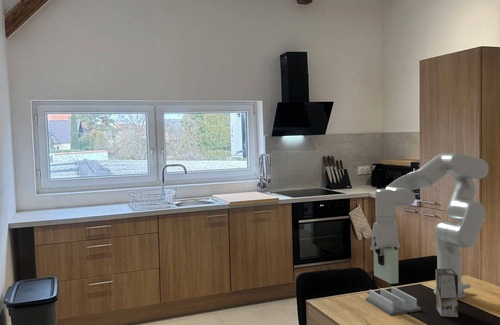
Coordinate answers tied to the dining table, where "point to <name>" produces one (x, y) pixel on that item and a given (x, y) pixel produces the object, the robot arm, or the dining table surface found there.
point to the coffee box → (447, 292)
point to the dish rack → (393, 301)
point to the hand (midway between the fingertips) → (385, 263)
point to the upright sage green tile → (387, 265)
